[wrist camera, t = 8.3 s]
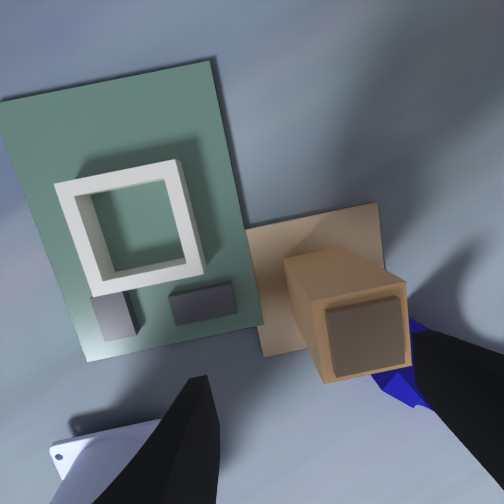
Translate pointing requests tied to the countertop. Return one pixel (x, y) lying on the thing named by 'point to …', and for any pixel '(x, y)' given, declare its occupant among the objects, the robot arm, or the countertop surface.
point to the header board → (136, 208)
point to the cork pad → (298, 243)
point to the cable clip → (403, 378)
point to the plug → (349, 313)
